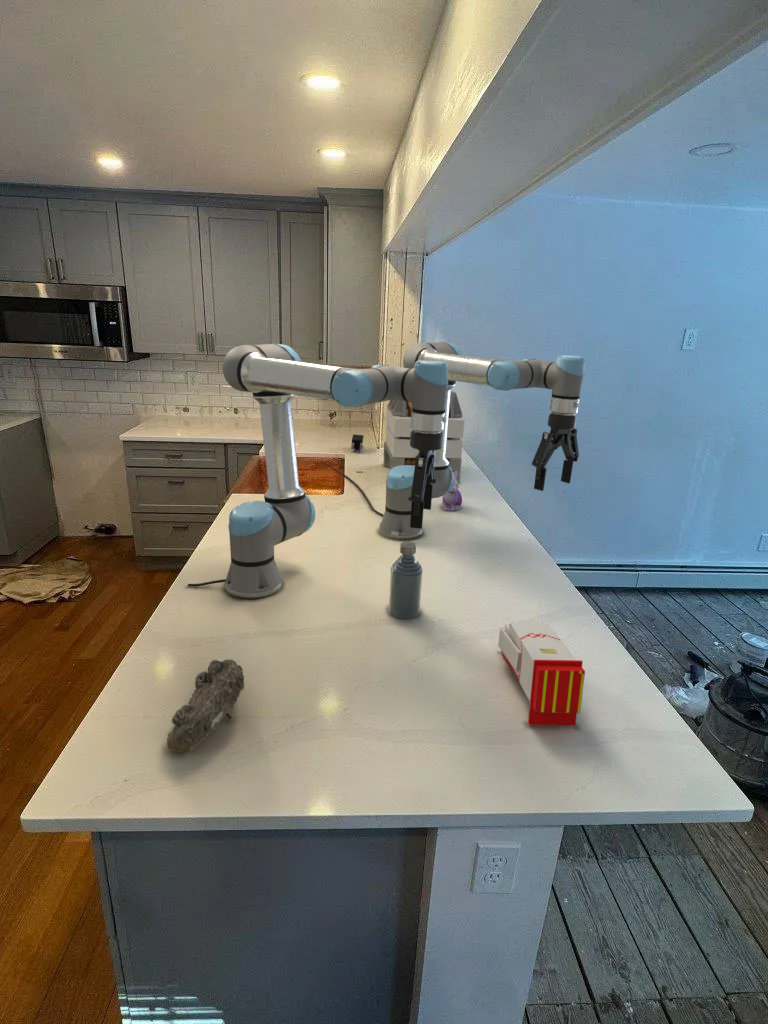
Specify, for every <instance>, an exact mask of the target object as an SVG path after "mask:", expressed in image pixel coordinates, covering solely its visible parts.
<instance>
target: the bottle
mask: <svg viewBox="0 0 768 1024" xmlns="http://www.w3.org/2000/svg"><path fill="white" fill-rule="evenodd" d="M423 572H424V570H423V568H422V565H421V563H420V562H419V561H418V559H417V558H416V557H415V556H414V554H413V555H404V554H402V553H401V555H400V556H399V557H398V558H397V559H396V560H395V561H394V562H393V563H392V565H391V567H390V578H389V579H390V580H389V597H388V599H389V600H388V612H389V614H390V615H391V616H393V617H396V618H399V619H414V618H415V617H418V615H419V614H420V611H421V601H422V598H421V597H422V584H423Z"/></svg>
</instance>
